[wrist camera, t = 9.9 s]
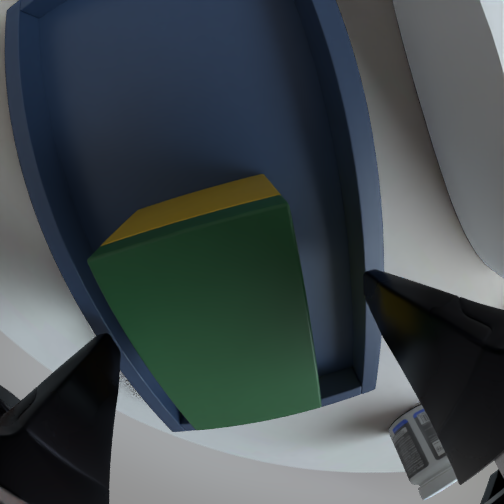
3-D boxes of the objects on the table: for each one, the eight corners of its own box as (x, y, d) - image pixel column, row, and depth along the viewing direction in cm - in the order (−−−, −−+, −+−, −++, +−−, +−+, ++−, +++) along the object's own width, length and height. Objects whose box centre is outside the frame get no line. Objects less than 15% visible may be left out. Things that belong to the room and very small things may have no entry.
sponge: (200, 356, 12) (195, 431, 8) (136, 210, 9) (84, 260, 5) (299, 334, 12) (322, 407, 8) (263, 172, 9) (289, 202, 5)
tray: (175, 406, 14) (172, 432, 12) (30, 19, 5) (6, 10, 3) (363, 364, 14) (375, 389, 12) (279, -67, 5) (288, -91, 3)
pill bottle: (395, 436, 19) (422, 501, 12) (381, 427, 18) (413, 504, 10) (436, 409, 18) (470, 472, 11) (428, 395, 17) (470, 470, 9)
